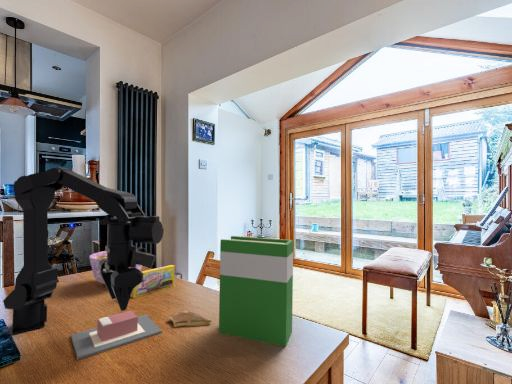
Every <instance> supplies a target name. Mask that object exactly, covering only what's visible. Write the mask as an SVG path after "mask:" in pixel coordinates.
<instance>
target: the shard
mask: <svg viewBox="0 0 512 384" xmlns="http://www.w3.org/2000/svg"><path fill="white" fill-rule="evenodd" d="M168 320H169V321H171V322H172V323H173V328H177V327H188V326H189V327H190V326H191V327H193V326H208V325H211V323H212V320H210V319H208V318H205V317H203V316H202V315H200V314H198V313H195V312H193V311H190V310H186V311H179V312H178V313H175V314H173V315H169V316H168Z"/></svg>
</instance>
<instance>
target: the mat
mask: <svg viewBox="0 0 512 384" xmlns="http://www.w3.org/2000/svg"><path fill="white" fill-rule="evenodd" d="M137 317H138V328H137V331H135V332H131V333H128V334H125V335H122V336H119V337H116V338H113V339H109V340H106V341H103V342H102V341H101V339H100V338H99V336H98V334H97V327H94V328H91V329H87V330H83V331H79V332H75V333H72V334H71V335H70V338H71V340H72V345H73V348H74V351H75V356H76V360H77V361H79V360H82V359H84V358H88V357H91V356H93V355H97V354H100V353H102V352H103V353H104V352H106V351H109V350H112V349H116V348H118V347H121V346H125V345H127V344H131V343H134V342H137V341H140V340H143V339H146V338H150V337H153V336H156V335H158V334H162V329H161V328H160V327H159V326H158V325H157V324H156V323H155V322H154V321H153V319H151V318H150V317H149V316H148V315H147V314H143V315H139V316H138V315H137Z"/></svg>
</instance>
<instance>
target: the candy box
mask: <svg viewBox="0 0 512 384" xmlns="http://www.w3.org/2000/svg"><path fill="white" fill-rule="evenodd" d="M175 267H176V265H174V264H170V265H165V266H160V267H156V268H150V269H147V270H143V271H142V270H141V272H142V273H143V282H141V283H140V284H139V285H137V286H136V287H135V288H134V289H133V290H132V293H131V296H130V298H132V299H135V298H138V297H142V296H145V295H148V294H152V293H156V292H159V291H162V290H164V289H169V288H171V286H172V287H174V285H175ZM168 287H169V288H168Z"/></svg>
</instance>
